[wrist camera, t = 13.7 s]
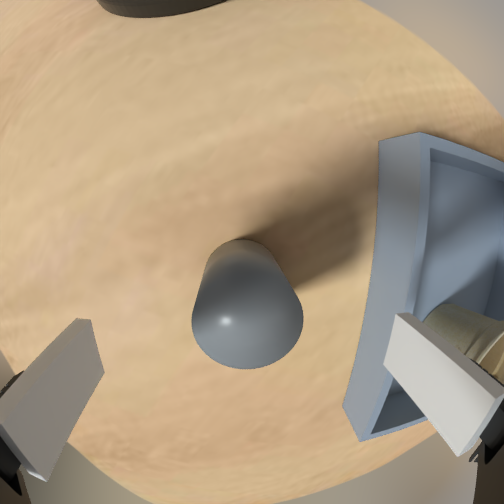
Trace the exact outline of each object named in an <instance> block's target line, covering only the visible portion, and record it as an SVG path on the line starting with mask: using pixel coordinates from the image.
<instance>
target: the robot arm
mask: <svg viewBox="0 0 504 504" xmlns="http://www.w3.org/2000/svg"><path fill="white" fill-rule="evenodd" d="M221 1H223V0H97V2H98V3H99V4H100V5H101V6H102V7H103V8H104V9H105V10H107V11H108V12H110V13H113V14H116V15H119V16H124V17H133V18H151V17H161V16H169V15H175V14H180V13H185V12H189V11H193V10H197V9H200V8H204V7H207V6H210V5H213V4H216V3H218V2H221ZM383 365H384V366H385V367H386V368H387V369H388V371H389V372H390V373H391V374H392V375H393V377H394V378H395V379H396V380H397V382H398V383H399V384H400V385H401V386H402V388H403V389H404V390H405V391H406V392H407V394H408V395H409V396H410V397H411V399H412V400H413V401H414V402H415V404H416V405H417V406H418V407H419V408H420V410H421V411H422V412H423V413H424V415H425V416H426V417H427V418H428V420H429V421H430V422H431V423H432V425H433V426H434V427H435V429H436V430H437V431H438V432H439V434H440V435H441V436H442V437H443V439H444V440H445V441H446V442H447V444H448V445H449V446H450V448H451V449H452V450H453V452H454V453H455V454H456V456H460V455H461V454H463V453H465V452H466V451H468V450H469V449H471V448H472V447H473V445H474V444H475V442H476V441H477V439H478V438H479V437H480V438H481V439H482V442H481V444H480V445H479V446H478V448H477V449H476V450H475V452H474V453H473V454H472V456H471V457H470V459H469V462H471V461H472V460H473V459H474V457H475V456H476V455H477V454H478V457H477V458H476V459H475V461H474V462H478V470H477V479H476V488H475V495H474V501H473V504H504V385H503V384H502V383H501V382H500V381H499V380H498V379H496V378H495V377H494V376H493V375H492V374H489V373H488V371H487V370H485V369H484V368H483V369H482V366H481V365H479V364H478V363H477V362H476V361H474V360H472V359H470V358H468V357H466V356H465V355H464V354H463V353H461V352H460V351H459V350H458V349H456V348H455V347H454V346H453V345H451V344H450V343H449V342H447V341H446V340H445V339H444V338H442V337H441V336H440V335H438V334H437V333H436V332H434V331H433V330H432V329H431V328H429V327H428V326H427V325H425V324H424V323H423V322H421V321H420V320H419V319H417V318H416V317H415V316H413V315H412V314H411V313H409V312H405V313H398V314H396V315H395V319H394V324H393V328H392V332H391V337H390V341H389V345H388V348H387V352H386V356H385V359H384V363H383ZM104 373H105V372H104V369H103V365H102V362H101V359H100V355H99V351H98V348H97V344H96V340H95V336H94V332H93V328H92V323H91V320H88V319H78V318H76V319H75V320H74V321H73V322H72V323H71V324H70V325H69V326H68V327H67V328H66V329H65V330H64V331H63V332H62V333H61V334H60V335H59V336H58V337H57V338H56V339H55V340H54V341H53V342H52V343H51V344H50V345H49V346H48V347H47V348H46V349H45V350H44V351H43V352H42V353H41V354H40V355H39V356H38V357H37V358H36V359H35V360H34V361H33V362H32V363H31V365H30V366H29V367H28V368H27V369H26V370H25V371H22V372H20V373H19V374H17V375H15V376H14V377H13V378H12V379H11V380H10V381H9V382H8V383H7V384H6V387H4V388H3V389H2V390H1V393H0V504H31V501H30V499H29V495H28V493H27V489H26V486H25V482H24V479H23V475H22V473H21V471H20V470H19V469H18V468H19V467H20V465H21V464H22V465H23V466H24V468H25V469H26V470H27V471H28V472H29V473H30V474H32V475H33V476H35V477H37V478H40V479H42V480H44V481H46V482H47V481H48V479H49V477H50V474H51V472H52V470H53V468H54V466H55V464H56V462H57V459H58V457H59V455H60V453H61V451H62V449H63V447H64V445H65V443H66V441H67V440H68V438H69V436H70V434H71V432H72V430H73V428H74V426H75V424H76V422H77V420H78V419H79V417H80V415H81V413H82V411H83V409H84V408H85V406H86V404H87V402H88V400H89V399H90V397H91V395H92V393H93V392H94V390H95V388H96V386H97V385H98V383H99V381H100V380H101V378H102V376H103V374H104Z"/></svg>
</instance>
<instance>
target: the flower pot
mask: <svg viewBox="0 0 504 504" xmlns="http://www.w3.org/2000/svg"><path fill="white" fill-rule="evenodd" d="M423 323H424V324H425V325H427V326H428V327H429V328H431V329H432V330H433V331H434V332H436V333H437V334H438V335H440V336H441V337H442V338H444V339H445V340H446V341H447V342H449V343H450V344H451V345H453V346H454V347H455V348H456V349H458V350H459V351H460V352H461V353H463V354H464V355H465V356H466V357H468V358H470V359H472V360H474V361H476V362H477V363H478V364H479V365H481V366H482V369H483V368H484V369H485V370H487V371H488V373H489V374H492V375H493V376H494V377H495V378H496V379H498V380H499V381H500V382H501V383H502V384H503V385H504V321H497V320H495V319H492V318H489V317H487V316H484V315H481V314H479V313H476V312H473V311H471V310H468V309H465V308H463V307H460V306H457V305H455V304H442V305H440V306H438V307H437V308H435V309H434V310H433V311H432V312H431V313H430V314H429V315H428V316H427V317H426V318H425V320H424V321H423Z"/></svg>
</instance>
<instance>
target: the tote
mask: <svg viewBox="0 0 504 504" xmlns="http://www.w3.org/2000/svg"><path fill="white" fill-rule="evenodd" d="M442 304H455V305H457V306H460V307H463V308H465V309H468V310H471V311H473V312H476V313H479V314H481V315H484V316H487V317H489V318H492V319H495V320H497V321H504V162H502V161H499V160H497V159H495V158H493V157H490V156H488V155H485V154H483V153H480V152H478V151H475V150H473V149H470V148H468V147H465V146H462V145H459V144H456V143H454V142H451V141H448V140H445V139H442V138H438V137H435V136H432V135H429V134H425V133H422V132H417V133H412V134H408V135H403V136H399V137H394V138H390V139H386V140H382V141H379V183H378V206H377V221H376V234H375V244H374V254H373V262H372V270H371V277H370V284H369V291H368V297H367V303H366V309H365V315H364V320H363V325H362V330H361V335H360V340H359V344H358V349H357V353H356V357H355V362H354V366H353V370H352V374H351V377H350V381H349V385H348V388H347V392H346V396H345V399H344V402H343V406H342V407H343V409H344V411H345V413H346V415H347V417H348V419H349V421H350V423H351V425H352V427H353V429H354V431H355V433H356V435H357V437H358V439H359V442H361V441H365V440H369V439H373V438H376V437H379V436H383V435H386V434H389V433H392V432H395V431H398V430H401V429H404V428H407V427H410V426H413V425H415V424H418V423H421V422H423V421H426V420H428V418H427V417H426V416H425V415H424V413H423V412H422V411H421V410H420V408H419V407H418V406H417V405H416V404H415V402H414V401H413V400H412V399H411V397H410V396H409V395H408V394H407V392H406V391H405V390H404V389H403V388H402V386H401V385H400V384H399V383H398V382H397V380H396V379H395V378H394V377H393V375H392V374H391V373H390V372H389V371H388V369H387V368H386V367H385V366H384V365H383V363H384V359H385V356H386V352H387V348H388V345H389V341H390V337H391V332H392V328H393V324H394V319H395V315H396V314H398V313H405V312H409V313H411V314H412V315H413V316H415V317H416V318H417V319H419V320H420V321H421V322H423V321H424V320H425V318H426V317H427V316H428V315H429V314H430V313H431V312H432V311H433V310H434V309H435V308H437V307H438V306H440V305H442Z"/></svg>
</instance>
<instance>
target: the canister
mask: <svg viewBox="0 0 504 504" xmlns="http://www.w3.org/2000/svg"><path fill="white" fill-rule="evenodd" d="M302 327H303V310H302V306H301V303H300V301H299V299H298V297H297V295H296V294H295V292H294V290H293V289H292V287H291V285H290V283H289V282H288V280H287V278H286V277H285V275H284V273H283V272H282V270H281V268H280V267H279V265H278V263H277V262H276V260H275V258H274V257H273V255H272V254H271V252H270V251H269V250H268V249H267V248H266V247H264V246H263V245H261V244H259V243H257V242H255V241H252V240H247V239H237V240H232V241H229V242H226V243H224V244H222V245H221V246H219V247H218V248H217V249H216V250H215V251H214V252H213V253H212V254H211V256H210V257H209V259H208V261H207V264H206V267H205V270H204V274H203V277H202V281H201V284H200V288H199V291H198V295H197V298H196V302H195V305H194V309H193V313H192V330H193V334H194V337H195V339H196V341H197V343H198V345H199V346H200V348H201V349H202V350H203V351H204V353H205V354H207V355H208V356H209V357H210V358H211V359H213V360H214V361H216V362H218V363H220V364H222V365H225V366H228V367H232V368H237V369H255V368H261V367H264V366H267V365H270V364H272V363H274V362H276V361H278V360H280V359H281V358H282V357H284V356H285V355H286V354H287V353H288V352H289V351H290V350H291V349H292V348H293V347H294V345H295V344H296V342H297V341H298V339H299V337H300V334H301V331H302Z"/></svg>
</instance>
